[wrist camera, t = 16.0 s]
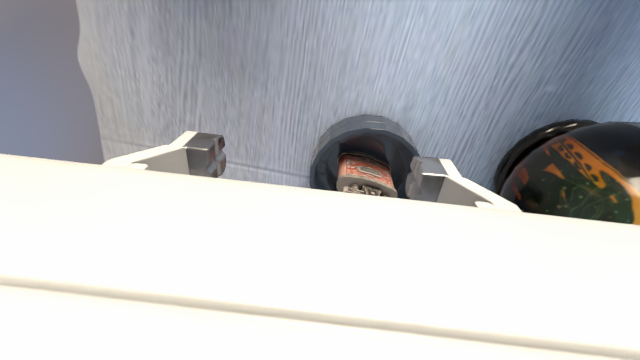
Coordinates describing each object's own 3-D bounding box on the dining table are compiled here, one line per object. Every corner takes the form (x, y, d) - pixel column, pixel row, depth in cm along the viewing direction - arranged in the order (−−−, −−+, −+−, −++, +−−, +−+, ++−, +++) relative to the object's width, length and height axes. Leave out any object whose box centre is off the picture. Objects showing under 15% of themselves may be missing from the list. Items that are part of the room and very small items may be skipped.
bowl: (428, 119, 42) (438, 135, 37) (402, 208, 50) (408, 230, 45) (317, 107, 42) (314, 122, 37) (310, 198, 50) (306, 219, 45)
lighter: (393, 161, 45) (405, 201, 36) (384, 180, 46) (393, 222, 38) (341, 146, 44) (340, 182, 35) (334, 165, 46) (332, 204, 37)
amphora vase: (483, 106, 40) (684, 270, 16) (668, 87, 37) (1236, 252, 14) (465, 231, 51) (569, 438, 27) (607, 223, 48) (861, 447, 25)
